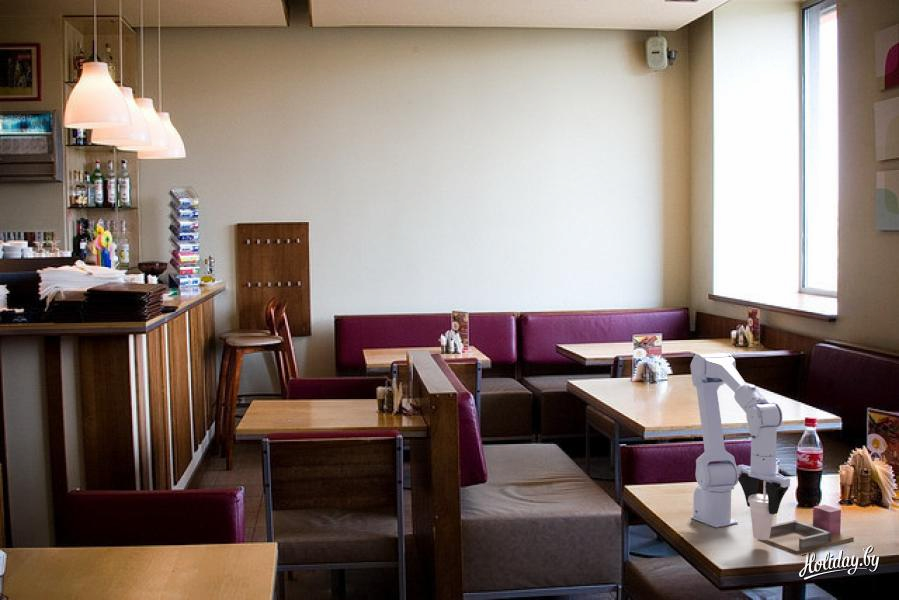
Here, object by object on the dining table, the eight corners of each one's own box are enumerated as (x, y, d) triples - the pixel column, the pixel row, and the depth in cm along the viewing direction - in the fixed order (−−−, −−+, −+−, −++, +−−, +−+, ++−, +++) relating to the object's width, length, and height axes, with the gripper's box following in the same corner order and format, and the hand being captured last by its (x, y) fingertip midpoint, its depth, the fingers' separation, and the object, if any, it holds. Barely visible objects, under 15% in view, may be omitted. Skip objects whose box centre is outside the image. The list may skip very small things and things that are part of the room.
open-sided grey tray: (757, 539, 228) (758, 512, 227) (813, 526, 237) (814, 500, 237) (796, 554, 217) (797, 526, 217) (853, 540, 227) (854, 513, 226)
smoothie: (776, 542, 218) (777, 485, 216) (748, 541, 219) (749, 484, 218) (774, 532, 224) (774, 477, 222) (746, 531, 226) (747, 475, 224)
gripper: (728, 449, 224) (727, 504, 225) (775, 462, 212) (773, 520, 213) (749, 446, 228) (748, 500, 229) (796, 458, 215) (795, 515, 216)
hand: (762, 509), depth 221 cm, fingers closed on smoothie, 6 cm apart
